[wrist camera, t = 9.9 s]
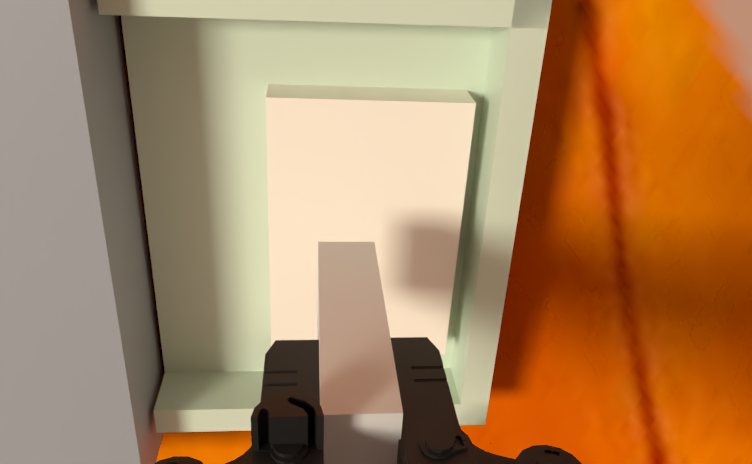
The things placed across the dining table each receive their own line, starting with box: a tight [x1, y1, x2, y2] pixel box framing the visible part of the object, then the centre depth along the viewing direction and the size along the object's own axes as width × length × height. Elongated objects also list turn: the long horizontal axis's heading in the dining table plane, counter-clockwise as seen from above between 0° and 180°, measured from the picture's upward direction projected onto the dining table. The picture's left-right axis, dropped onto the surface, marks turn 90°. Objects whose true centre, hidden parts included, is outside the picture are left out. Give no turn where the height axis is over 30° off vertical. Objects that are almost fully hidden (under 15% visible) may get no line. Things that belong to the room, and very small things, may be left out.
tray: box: [97, 0, 552, 433], centre depth 22 cm, size 15×12×2 cm
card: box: [266, 84, 476, 354], centre depth 22 cm, size 9×6×1 cm, turn 177°
